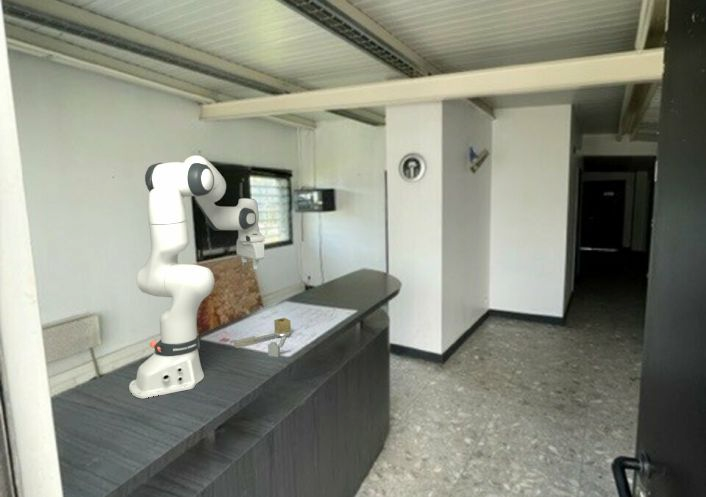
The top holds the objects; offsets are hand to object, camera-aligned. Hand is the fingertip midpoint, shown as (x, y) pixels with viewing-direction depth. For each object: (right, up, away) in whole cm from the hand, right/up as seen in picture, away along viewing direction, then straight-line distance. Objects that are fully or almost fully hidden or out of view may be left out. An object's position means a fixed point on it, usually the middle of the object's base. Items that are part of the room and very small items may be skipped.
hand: (250, 267), depth 188 cm
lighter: (+16, -33, -24) cm, 44 cm away
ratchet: (+7, -30, -7) cm, 32 cm away
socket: (+14, -28, -2) cm, 31 cm away
